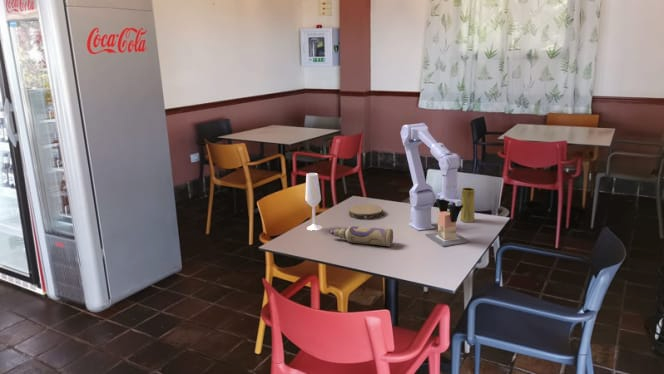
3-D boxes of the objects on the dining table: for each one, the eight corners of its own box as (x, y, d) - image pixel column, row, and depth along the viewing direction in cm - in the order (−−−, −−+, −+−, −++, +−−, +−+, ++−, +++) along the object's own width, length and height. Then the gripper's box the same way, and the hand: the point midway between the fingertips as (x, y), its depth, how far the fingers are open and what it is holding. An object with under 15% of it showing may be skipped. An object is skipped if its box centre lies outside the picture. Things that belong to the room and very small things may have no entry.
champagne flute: (323, 225, 223) (320, 172, 218) (321, 230, 217) (318, 175, 211) (307, 225, 224) (305, 172, 218) (305, 230, 218) (302, 176, 212)
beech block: (438, 236, 203) (438, 224, 202) (449, 234, 204) (449, 222, 203) (444, 240, 198) (444, 227, 197) (455, 238, 200) (456, 226, 198)
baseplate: (425, 235, 206) (425, 233, 206) (451, 231, 210) (451, 229, 210) (443, 247, 193) (443, 245, 193) (470, 242, 197) (470, 240, 197)
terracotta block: (438, 224, 202) (438, 212, 200) (449, 222, 203) (449, 210, 202) (444, 227, 197) (444, 215, 196) (455, 226, 198) (456, 214, 197)
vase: (464, 223, 219) (465, 191, 216) (457, 219, 225) (458, 188, 222) (477, 221, 221) (478, 189, 217) (469, 217, 227) (470, 186, 223)
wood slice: (389, 212, 239) (388, 206, 239) (373, 222, 226) (373, 215, 226) (359, 208, 248) (359, 202, 247) (342, 217, 235) (342, 211, 234)
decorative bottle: (394, 242, 200) (394, 226, 198) (389, 249, 193) (388, 233, 192) (334, 235, 210) (334, 220, 209) (327, 242, 204) (326, 226, 202)
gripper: (430, 182, 202) (430, 215, 205) (450, 190, 188) (449, 225, 192) (446, 180, 204) (445, 213, 207) (466, 188, 190) (465, 223, 194)
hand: (448, 219), depth 200 cm, fingers open, 7 cm apart
